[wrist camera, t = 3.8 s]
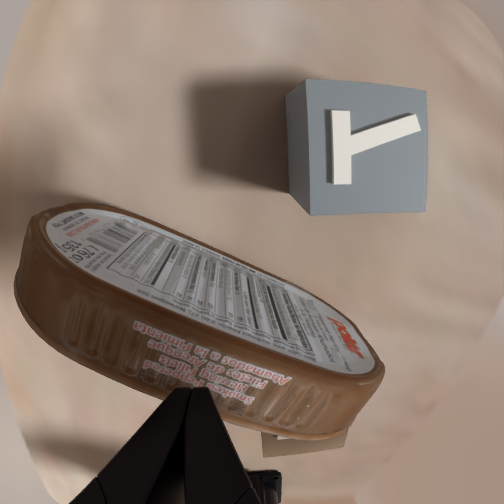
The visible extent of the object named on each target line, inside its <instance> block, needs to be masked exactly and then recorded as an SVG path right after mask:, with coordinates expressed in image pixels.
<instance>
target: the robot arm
mask: <svg viewBox="0 0 504 504" xmlns="http://www.w3.org/2000/svg"><path fill="white" fill-rule="evenodd" d="M97 477H98V478H97ZM97 477H95V478H94V479H93V480H92V481H91V482H90V483H89V484H88V485H87V486H86V487H85V488H84V489H83V490H82V491H81V492H80V493H79V494H78V495H77V496H76V497H75V498H74V499H73V500H72V501H71V502H70V503H69V504H278V503H280V502H281V485H282V476H281V473H280V472H268V473H254V474H247V473H246V471H245V469H244V467H243V465H242V463H241V461H240V458H239V456H238V454H237V452H236V450H235V448H234V445H233V443H232V441H231V439H230V436H229V434H228V432H227V430H226V427H225V425H224V423H223V420H222V418H221V416H220V413H219V411H218V408H217V406H216V404H215V401H214V399H213V396H212V394H211V391H210V389H209V388H208V387H193V388H191V387H176V388H174V389H173V390H172V392H171V393H170V394H169V395H168V396H167V397H166V399H165V400H164V401H163V402H162V403H161V404H160V405H159V407H158V408H157V409H156V410H155V411H154V412H153V413H152V415H151V416H150V417H149V418H148V419H147V420H146V421H145V422H144V424H143V425H142V426H141V427H140V428H139V429H138V430H137V432H136V433H135V434H134V435H133V436H132V437H131V438H130V439H129V440H128V442H127V443H126V444H125V445H124V446H123V447H122V448H121V449H120V450H119V452H118V453H117V454H116V455H115V456H114V457H113V458H112V459H111V460H110V462H109V463H108V464H107V465H106V466H105V467H104V468H103V469H102V470H101V471H100V472H99V474H98V475H97Z"/></svg>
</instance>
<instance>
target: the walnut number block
mask: <svg viewBox="0 0 504 504" xmlns="http://www.w3.org/2000/svg"><path fill="white" fill-rule="evenodd" d="M347 432H348V429H347V430H345V431H344V432H342V433H341V434H339V435H337V436H335V437H332V438H328V439H322V440H313V441H312V440H297V439H292V438H286V437H281V436H277V435H273V434H269V433H265V432H261V436H262V447H263V457H275V456H285V455H294V454H302V453H309V452H316V451H323V450H329V449H335V448H340V447H344V444H345V440H346V436H347Z"/></svg>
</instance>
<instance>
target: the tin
mask: <svg viewBox="0 0 504 504" xmlns="http://www.w3.org/2000/svg"><path fill="white" fill-rule="evenodd" d="M14 295H15V299H16V302H17V304H18V307H19V309H20V311H21V313H22V315H23V317H24V318H25V320H26V321H27V323H28V324H29V325H30V327H31V328H32V329H33V330H34V331H35V332H36V334H37V335H38V336H39V337H41V338H42V339H43V340H44V341H45V342H46V343H47V344H48V345H50V346H51V347H53V348H54V349H55V350H57V351H58V352H60V353H61V354H63V355H65V356H66V357H68V358H70V359H72V360H73V361H75V362H77V363H79V364H81V365H83V366H85V367H87V368H89V369H91V370H93V371H95V372H97V373H100V374H102V375H104V376H106V377H108V378H110V379H113V380H115V381H117V382H119V383H122V384H124V385H126V386H128V387H130V388H133V389H135V390H137V391H140V392H143V393H145V394H148V395H150V396H153V397H156V398H158V399H161V400H163V401H164V400H165V399H166V397H167V396H168V395H169V394H170V393H171V392H172V390H173V389H174V388H176V387H191V388H193V387H208V388H209V389H210V391H211V394H212V396H213V399H214V401H215V404H216V406H217V408H218V411H219V413H220V416H221V418H222V420H223V421H226V422H229V423H232V424H235V425H238V426H242V427H246V428H250V429H254V430H257V431H261V432H265V433H269V434H273V435H277V436H281V437H286V438H292V439H297V440H312V441H313V440H322V439H328V438H332V437H335V436H337V435H339V434H341V433H342V432H344V431H345V430H347V429H348V428H349V427H350V426H351V425H352V423H353V422H354V420H355V418H356V415H357V414H358V413H359V412H360V410H361V409H362V408H363V407H364V405H365V404H366V403H367V402H368V400H369V399H370V398H371V397H372V395H373V394H374V393H375V391H376V390H377V388H378V387H379V385H380V383H381V382H382V380H383V377H384V373H385V366H384V364H383V362H381V360H380V359H379V357H378V355H377V354H376V352H375V351H374V349H373V348H372V347H371V345H370V344H369V343H368V342H367V340H366V339H365V338H364V337H363V335H362V334H361V332H360V331H359V329H358V328H357V326H356V325H355V324H354V323H353V322H352V321H351V320H350V319H349V318H347V317H346V316H345V315H343V314H342V313H341V312H340V311H338V310H337V309H335V308H334V307H333V306H331V305H330V304H328V303H327V302H325V301H324V300H322V299H320V298H318V297H317V296H315V295H313V294H312V293H310V292H308V291H306V290H304V289H302V288H301V287H299V286H296V285H294V284H292V283H290V282H288V281H286V280H283V279H281V278H279V277H277V276H275V275H272V274H270V273H268V272H266V271H264V270H261V269H259V268H257V267H255V266H253V265H250V264H248V263H246V262H244V261H242V260H240V259H237V258H235V257H233V256H231V255H229V254H226V253H224V252H222V251H220V250H217V249H215V248H213V247H211V246H208V245H206V244H204V243H202V242H199V241H197V240H195V239H193V238H190V237H188V236H186V235H184V234H181V233H179V232H177V231H175V230H172V229H170V228H168V227H165V226H163V225H161V224H159V223H156V222H154V221H151V220H149V219H146V218H144V217H141V216H138V215H136V214H133V213H130V212H126V211H123V210H120V209H116V208H112V207H108V206H104V205H98V204H90V203H72V204H68V205H64V206H60V207H55V208H51V209H48V210H45V211H42V212H40V213H38V214H37V215H35V216H33V217H32V218H31V220H30V222H29V225H28V227H27V231H26V235H25V238H24V243H23V248H22V253H21V258H20V264H19V268H18V270H17V272H16V275H15V280H14Z"/></svg>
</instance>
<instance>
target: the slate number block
mask: <svg viewBox="0 0 504 504" xmlns="http://www.w3.org/2000/svg"><path fill="white" fill-rule="evenodd" d="M285 104H286V123H287V144H288V170H289V194H290V195H291V196H292V197H293V198H294V199H295V200H296V201H297V202H298V203H299V204H300V205H301V206H302V208H303V209H304V210H305V211H306V212H307V213H308V214H309V215H310V216H318V215H341V214H367V213H400V212H426V199H427V179H428V116H427V97H426V91H424V90H418V89H412V88H406V87H399V86H391V85H383V84H374V83H364V82H353V81H339V80H320V79H305V80H304V81H303V82H301V83H300V84H299V85H298V86H297V87H296V88H294V89H293V90H292V91H291V92H290V93H289V94H288V95H286V96H285Z"/></svg>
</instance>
